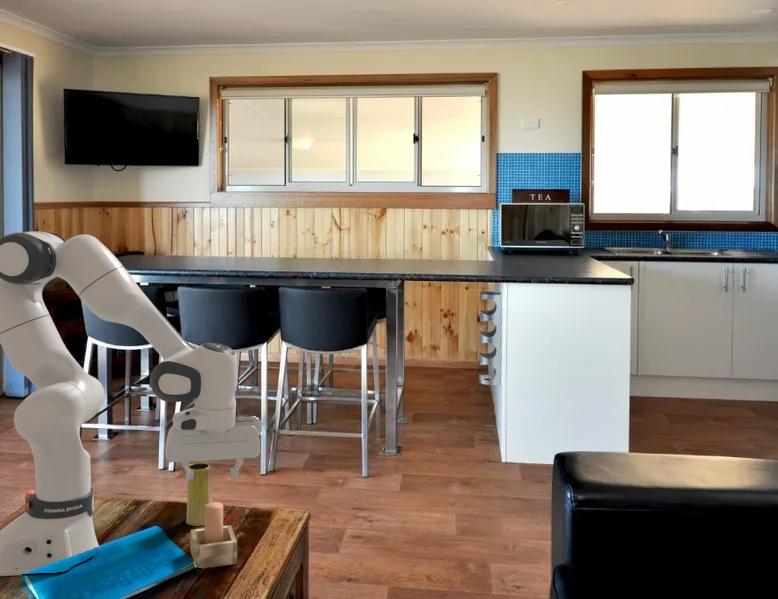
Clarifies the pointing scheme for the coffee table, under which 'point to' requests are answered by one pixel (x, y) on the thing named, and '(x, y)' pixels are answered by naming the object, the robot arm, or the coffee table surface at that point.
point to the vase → (198, 494)
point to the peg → (213, 523)
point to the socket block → (214, 549)
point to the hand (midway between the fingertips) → (212, 478)
